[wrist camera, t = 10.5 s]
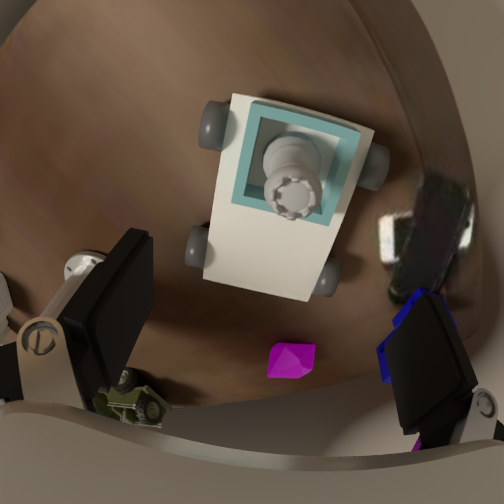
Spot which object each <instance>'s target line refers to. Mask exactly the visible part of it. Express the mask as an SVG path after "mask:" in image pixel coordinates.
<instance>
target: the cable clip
mask: <svg viewBox="0 0 504 504" xmlns="http://www.w3.org/2000/svg"><path fill="white" fill-rule="evenodd" d="M425 293H430V294H435V295H438V294H436V293H433V292H430V291H427V290H425V289H422V288H419V287H418V289H417V290H416V291H415V293H414V294H413V295H412V296H411V298H410V299H409V300H408V301H407V303H406V304H405V305H404V306H403V308H402V309H401V310H400V311H399V312H398V314H397V315H396V316H395V317H394V318H393V320H392V321H393V324H394V327H395V329H394V330H393V331H392V332H391V333H390V335H389V336H388V337H387V338H386V339H385V340H384V341H383V342H382V343H381V344H380V345H379V346H378V347H377V348H376V350H377V355H378V360H379V365H380V370H381V376H382V381H383V382H387V383H392V382H391V377H390V373H389V369H388V364H387V360H386V356H385V352H384V348H385V345H386V343H387V341H388V340H389V339H390V337H391V336H392V335H393V333H394V332H395V331H396V329H397V328H398V326H399V325H400V324H401V322H402V321H403V319H404V318H405V317H406V315H407V314H408V312H409V311H410V309H411V308H412V307H413V305H414V304H415V302H416V301H417V299H418V298H419V297H420V296H422V295H423V294H425ZM438 296H440V298H441V300H442V302H443V304H444V305H445V307H446V309H447V311H448V313H449V316H450V318H451V320H452V322H453V324H454V326H455V328H456V330H457V327H456V325H455V322H454V320H453V318H452V316H451V314H450V311H449V309H448V307H447V305H446V303H445V301H444V299H443V297H442V296H441V295H438Z"/></svg>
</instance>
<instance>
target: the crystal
mask: <svg viewBox="0 0 504 504" xmlns="http://www.w3.org/2000/svg"><path fill="white" fill-rule="evenodd" d="M315 346H316V345H313V344H292V343H277V344H275V345H274V346H273V347H272V349H271V351H270V357H269V365H268V374H267V377H273V378H300V377H302V376H304V375H306V374H307V373H309V372H310V371H311V370H312V369H313V363H314V355H315Z"/></svg>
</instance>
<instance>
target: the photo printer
mask: <svg viewBox="0 0 504 504" xmlns="http://www.w3.org/2000/svg"><path fill="white" fill-rule="evenodd" d="M12 308H13V303H12V300H11V296H10V293H9V290H8V286H7V283H6V280H5V278H4V275H3V274H2V273H1V272H0V325H1V323H2V322H3V321H4V319H5V318H6V317H7V315H8V314H9V313H10V311H11V310H12Z"/></svg>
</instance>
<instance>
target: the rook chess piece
mask: <svg viewBox="0 0 504 504" xmlns="http://www.w3.org/2000/svg"><path fill="white" fill-rule="evenodd" d="M262 167H263V169H264V172H265V175H266V177H267V178H268V179H267V181H266V183H265V185H264V197H265V200H266V202H267V205H268V206H269V207H270V208H271V209H272V210H273V211H274V213H276V214H277V215H278V216H279V215H280V216H282V217H284V218H287V220H292V221H296V219H297V218H301V217H304V219H305V218H306V217H308V216H309V215H310V214H312V212H313V211H315V210H316V208H317V207H318V205H319V204H320V202H321V199H322V193H323V189H322V185H321V182H320V179H319V178H318V177H317V176H318V174H319V172H320V167H321V156H320V153H319V149H318V147H317V145H316V144H315V143H314V142H313V141H312V139H311V138H309V137H307V136H305V135H303V134H302V133H298V132H285V133H281V134H278V135H276V136H275V137H273V138H272V139H271V140H270V141H269V142H268V143H267V145H266V147H265V149H264V151H263V158H262Z"/></svg>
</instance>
